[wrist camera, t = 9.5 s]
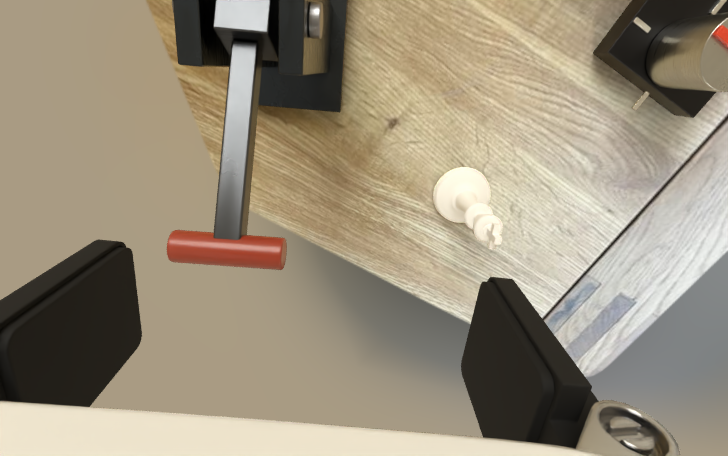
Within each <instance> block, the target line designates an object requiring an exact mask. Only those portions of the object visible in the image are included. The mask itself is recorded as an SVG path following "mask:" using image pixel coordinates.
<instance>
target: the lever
mask: <svg viewBox="0 0 728 456" xmlns="http://www.w3.org/2000/svg"><path fill="white" fill-rule="evenodd" d="M278 12H279V0H215V9H214V19H213V29H214V31H215V32H216V34H217V36H218V37H219V39H220V41H221V42H222V44H223V46H224V47H225V49H226V50H227V52H228V54H229V55H230V66H229V76H228V87H227V98H226V108H225V119H224V129H223V140H222V151H221V161H220V172H219V183H218V193H217V204H216V214H215V225H214V233H211V232H197V231H185V230H175V231H173V232H172V233H171V234H170V236H169V239H168V243H167V255H168V258H169V260H170V261H172V262H178V263H192V264H206V265H220V266H234V267H248V268H263V269H276V270H282V269H283V267H284V265H285V260H286V250H287V245H286V240H285V238H278V237H264V236H251V235H247V225H248V214H249V203H250V192H251V181H252V170H253V159H254V147H255V136H256V125H257V114H258V103H259V92H260V81H261V70H262V60H269V61H278Z"/></svg>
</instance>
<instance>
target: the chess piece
mask: <svg viewBox="0 0 728 456" xmlns="http://www.w3.org/2000/svg"><path fill="white" fill-rule="evenodd" d="M490 197H491V190H490V186H489V183H488V181H487V179H486V178H485V176H484V175H483V174H482V173H480V172H479V171H477V170H475V169H473V168H469V167H459V168H455V169H452V170H450V171H448V172H447V173H445V174H444V175H443V176H442V177H441V178H440V179H439V180H438V182H437V183H436V185H435V188H434V192H433V202H434V205H435V208H436V209H437V211H438V212H439V213H440V214H441V215H442V216H443V217H444V218H446V219H447V220H449V221H452V222H457V223H464V222H465V224H466V225H467V226H468V227H469V228H470V229H473V232H474V235H475V237H476V238H477V239H478V240H479V241H482V242H488V244H487V246H488V248H489V249H496V245H497V244H500V245H501V241H502V238H501V236H500V235H501V233H502V231H503V224H502V222H501V220H500V219H499V218H498V217H496V216H494V215H493V211H492V209H491V208H490V207H489V206H488V204H489V202H490Z"/></svg>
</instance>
